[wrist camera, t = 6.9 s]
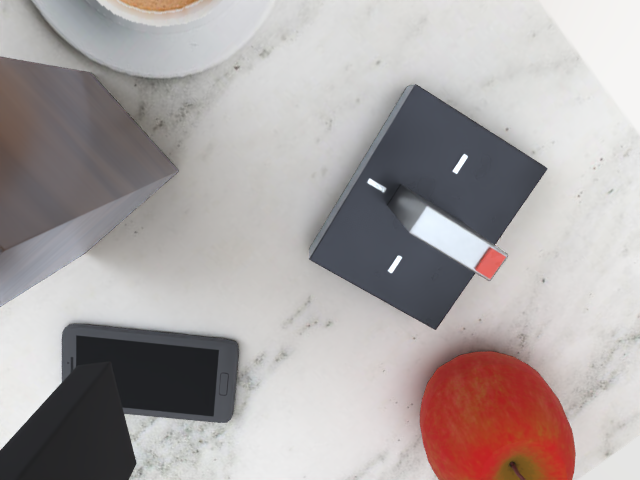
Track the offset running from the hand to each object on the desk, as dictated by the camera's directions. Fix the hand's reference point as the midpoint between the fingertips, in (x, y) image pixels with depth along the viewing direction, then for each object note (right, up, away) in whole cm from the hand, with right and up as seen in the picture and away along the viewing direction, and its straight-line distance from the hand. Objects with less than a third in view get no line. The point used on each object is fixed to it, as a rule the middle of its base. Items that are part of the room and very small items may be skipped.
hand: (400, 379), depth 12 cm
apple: (+11, -10, +31) cm, 34 cm away
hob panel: (+6, +6, +27) cm, 28 cm away
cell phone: (-16, -8, +30) cm, 34 cm away
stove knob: (+6, +5, +24) cm, 25 cm away
